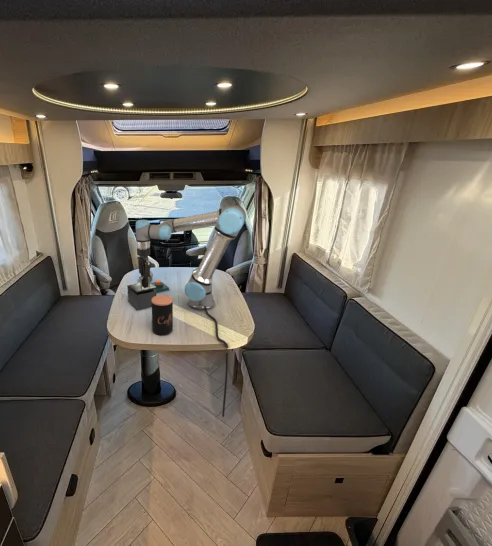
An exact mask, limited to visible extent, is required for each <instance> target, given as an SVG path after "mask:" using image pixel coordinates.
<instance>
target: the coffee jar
mask: <svg viewBox="0 0 492 546" xmlns="http://www.w3.org/2000/svg"><path fill="white" fill-rule="evenodd" d="M173 304H174V303H173V297H172V296H170V295H167V294H158V295H157V296H155V297H153V298H152V307H151V330H152V332H153V334H155V335H157V336H161V337H162V336H167V335H170V334H171V333H172V332H173V330H174V324H173V323H174V321H173V320H174V307H173V306H174V305H173Z"/></svg>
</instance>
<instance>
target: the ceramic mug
mask: <svg viewBox="0 0 492 546" xmlns="http://www.w3.org/2000/svg"><path fill="white" fill-rule="evenodd" d="M153 278H154V274H153V272H152V271H151V270H150V278H149V280H150V283H151V282H152V281H153ZM137 281H138V283H140V279H139V278H138V279H137Z"/></svg>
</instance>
